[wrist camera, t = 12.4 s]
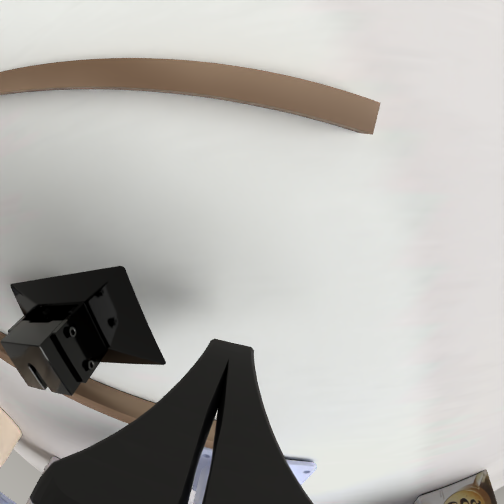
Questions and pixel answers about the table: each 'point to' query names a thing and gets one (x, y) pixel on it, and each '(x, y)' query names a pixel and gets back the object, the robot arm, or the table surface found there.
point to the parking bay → (196, 84)
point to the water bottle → (7, 436)
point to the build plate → (77, 328)
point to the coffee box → (463, 492)
